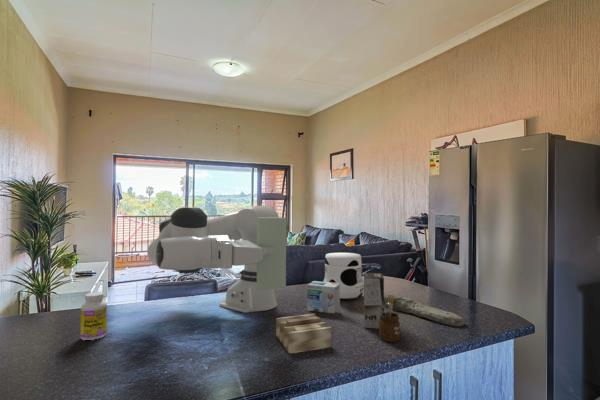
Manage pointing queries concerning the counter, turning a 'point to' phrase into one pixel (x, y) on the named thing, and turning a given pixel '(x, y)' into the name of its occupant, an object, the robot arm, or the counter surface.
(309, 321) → the walnut offcut
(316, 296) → the light bulb box
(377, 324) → the coffee box
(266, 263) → the tall panel
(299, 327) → the oak offcut
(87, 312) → the supplement bottle
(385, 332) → the utensil holder
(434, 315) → the elongated rock
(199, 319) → the counter surface
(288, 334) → the birch rack
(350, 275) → the spotted cookie jar
